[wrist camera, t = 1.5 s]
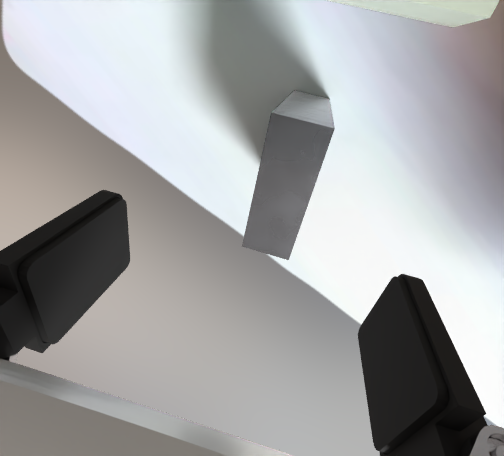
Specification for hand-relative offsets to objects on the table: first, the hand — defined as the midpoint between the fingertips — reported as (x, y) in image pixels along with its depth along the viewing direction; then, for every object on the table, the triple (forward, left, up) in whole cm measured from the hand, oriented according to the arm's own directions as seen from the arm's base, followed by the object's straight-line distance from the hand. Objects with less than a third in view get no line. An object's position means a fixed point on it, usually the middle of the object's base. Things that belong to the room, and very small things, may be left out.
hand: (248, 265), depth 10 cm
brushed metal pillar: (0, 0, -18) cm, 18 cm away
